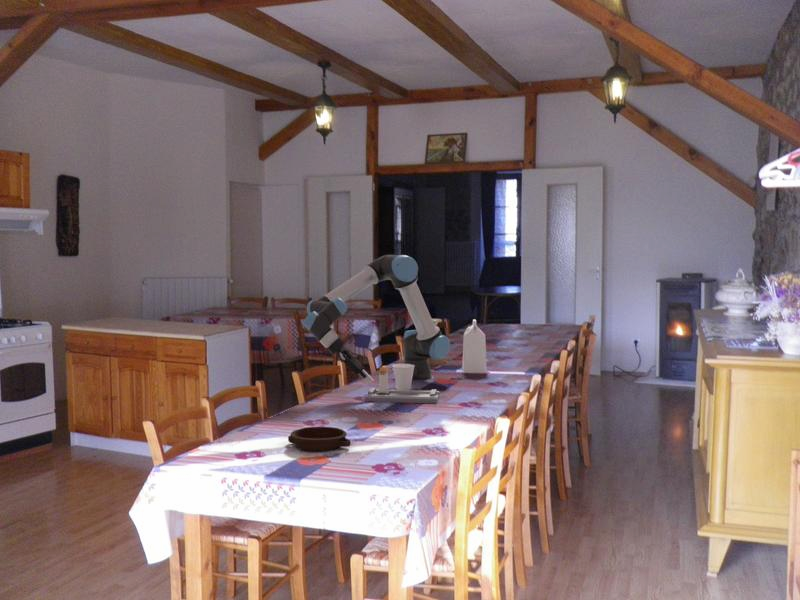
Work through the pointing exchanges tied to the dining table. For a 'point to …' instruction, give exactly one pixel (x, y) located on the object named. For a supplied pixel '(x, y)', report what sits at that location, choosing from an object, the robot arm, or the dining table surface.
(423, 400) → the switch panel
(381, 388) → the lever
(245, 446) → the dining table surface
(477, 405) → the dining table surface
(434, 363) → the candle holder
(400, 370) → the cup
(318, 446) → the dish
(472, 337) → the milk
